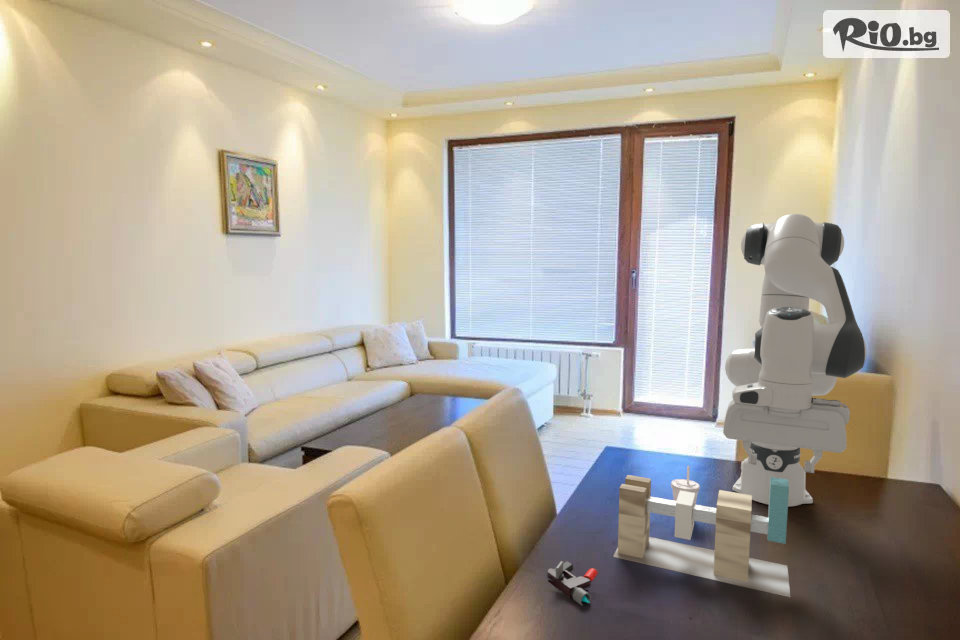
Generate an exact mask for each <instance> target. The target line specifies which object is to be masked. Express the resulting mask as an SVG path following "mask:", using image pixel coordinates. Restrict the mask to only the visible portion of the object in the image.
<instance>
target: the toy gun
mask: <svg viewBox="0 0 960 640" xmlns="http://www.w3.org/2000/svg"><path fill="white" fill-rule="evenodd" d="M572 569H574V565H573V563H571V562H570V561H568V560H566V561H562V560H561V561H560V562H559V563H558V564H557V565H556V567H554V568H551V567H550V568H548V570H547V576H548V577H549V578H550V579H552V580H550V579H547V582H548V583H549V584H551V585H552V586H553V587H555V588H556V589H557V590H559V591H560V592H562V594H564V595H565V596H566V597H568V598H569V599H573V601H574V602H576V603H577V604H579V605H580V606H581V607H583V606H584V604H583V603H586V604H590V602H591V599H592V597H591V596H592V595H591V594H590V593H589V591H590V590H589V589H584V587H586V586H589V585H591V582H593V580H595V579H596V576H597V575H599V574H598V570H597V569H595V568H594V567H592V568H589V569H588V570H587V571H586V572H585V574H584V575H583V576H582V575H581V576H575V574H573V573H572V572H570V571H572ZM565 576H566V577H567V578H568V579H567V578H566V577H565ZM582 602H583V603H582Z"/></svg>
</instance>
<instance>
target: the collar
mask: <svg viewBox="0 0 960 640" xmlns="http://www.w3.org/2000/svg"><path fill="white" fill-rule="evenodd" d="M694 504H695V493H692V492H686V491H680V492H679V495H678V498H677V501H676V508H675V517H674V535H673V536H674V538H678V539H682V540H683V539H684V540H688V541H691V538H692V534H693V531H694V526H695V521H693V520H692V509H693V506H694Z"/></svg>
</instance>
